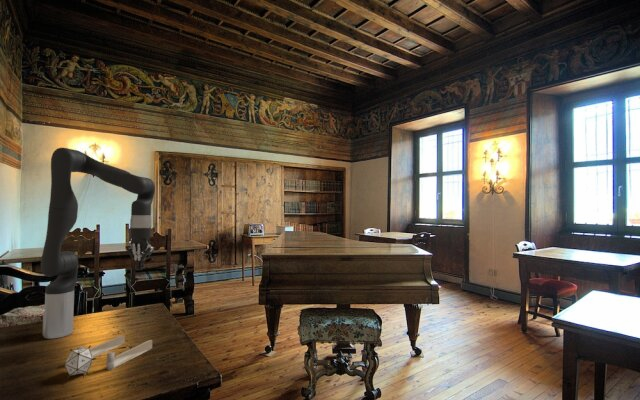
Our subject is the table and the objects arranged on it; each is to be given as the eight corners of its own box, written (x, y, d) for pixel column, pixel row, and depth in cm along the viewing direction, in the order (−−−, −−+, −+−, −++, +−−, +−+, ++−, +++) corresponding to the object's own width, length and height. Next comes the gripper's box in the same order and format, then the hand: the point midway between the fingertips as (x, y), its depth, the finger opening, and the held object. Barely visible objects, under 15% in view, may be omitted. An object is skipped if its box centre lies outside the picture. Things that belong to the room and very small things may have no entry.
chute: (74, 363, 108) (75, 348, 108) (121, 342, 125) (121, 329, 125) (109, 370, 104) (110, 354, 104) (153, 348, 120) (153, 334, 121)
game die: (80, 388, 100) (78, 371, 95) (55, 378, 100) (52, 360, 95) (103, 362, 108) (102, 345, 103) (79, 352, 108) (78, 334, 103)
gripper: (119, 226, 130) (118, 270, 129) (146, 227, 126) (145, 272, 125) (135, 225, 137) (134, 267, 136) (161, 226, 133) (159, 269, 132)
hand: (139, 269), depth 131 cm, fingers closed
